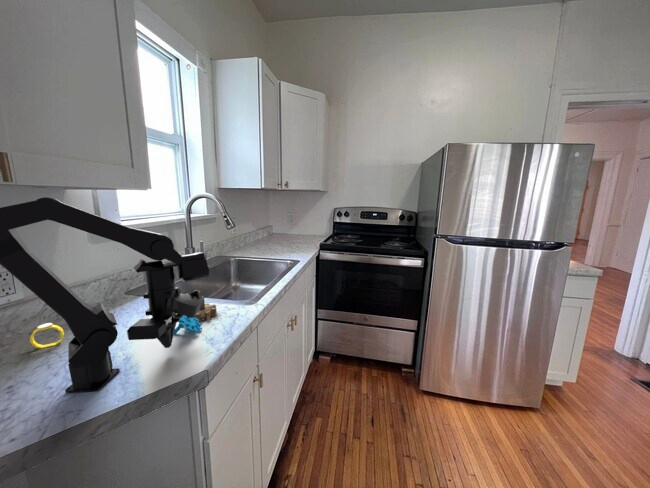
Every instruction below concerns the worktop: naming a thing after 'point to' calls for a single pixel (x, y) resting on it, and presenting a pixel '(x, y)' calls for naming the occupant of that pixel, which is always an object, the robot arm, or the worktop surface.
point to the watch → (43, 327)
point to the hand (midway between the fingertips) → (168, 347)
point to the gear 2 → (206, 311)
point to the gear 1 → (188, 324)
